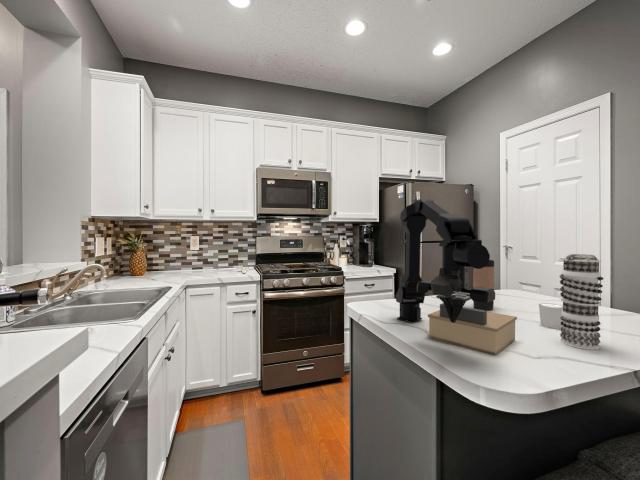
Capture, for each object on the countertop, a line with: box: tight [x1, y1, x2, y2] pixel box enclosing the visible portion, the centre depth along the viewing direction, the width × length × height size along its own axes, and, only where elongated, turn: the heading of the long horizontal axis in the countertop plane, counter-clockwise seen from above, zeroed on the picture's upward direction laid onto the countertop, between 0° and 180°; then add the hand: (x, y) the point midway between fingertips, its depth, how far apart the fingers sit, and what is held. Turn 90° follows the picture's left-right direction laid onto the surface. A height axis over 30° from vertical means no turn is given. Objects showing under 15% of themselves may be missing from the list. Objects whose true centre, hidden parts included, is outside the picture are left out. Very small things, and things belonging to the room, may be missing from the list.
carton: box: [428, 317, 516, 356], centre depth 89 cm, size 18×16×6 cm
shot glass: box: [538, 302, 563, 330], centre depth 100 cm, size 7×7×7 cm
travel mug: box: [472, 259, 495, 312], centre depth 123 cm, size 8×8×20 cm
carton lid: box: [427, 302, 518, 332], centre depth 89 cm, size 19×17×4 cm
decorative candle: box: [559, 253, 604, 351], centre depth 84 cm, size 9×9×25 cm
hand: (453, 322), depth 81 cm, fingers closed
